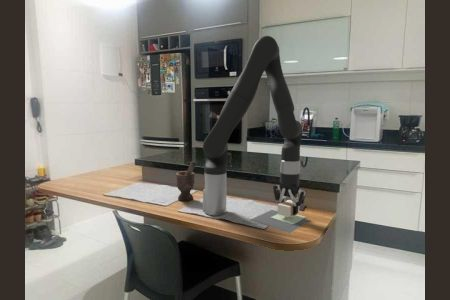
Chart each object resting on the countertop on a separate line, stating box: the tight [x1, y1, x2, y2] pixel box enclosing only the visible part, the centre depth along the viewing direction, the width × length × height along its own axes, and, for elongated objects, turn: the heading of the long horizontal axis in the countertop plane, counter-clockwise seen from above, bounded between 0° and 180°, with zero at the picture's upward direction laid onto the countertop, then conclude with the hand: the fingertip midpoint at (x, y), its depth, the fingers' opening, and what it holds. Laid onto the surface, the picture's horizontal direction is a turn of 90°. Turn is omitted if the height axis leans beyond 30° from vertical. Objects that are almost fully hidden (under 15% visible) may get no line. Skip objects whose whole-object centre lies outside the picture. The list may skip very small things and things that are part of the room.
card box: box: [277, 199, 300, 217], centre depth 120 cm, size 8×5×4 cm, turn 138°
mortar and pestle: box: [175, 160, 197, 202], centre depth 143 cm, size 12×9×20 cm
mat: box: [249, 209, 311, 234], centre depth 118 cm, size 18×18×1 cm
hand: (288, 212), depth 120 cm, fingers closed on card box, 5 cm apart
